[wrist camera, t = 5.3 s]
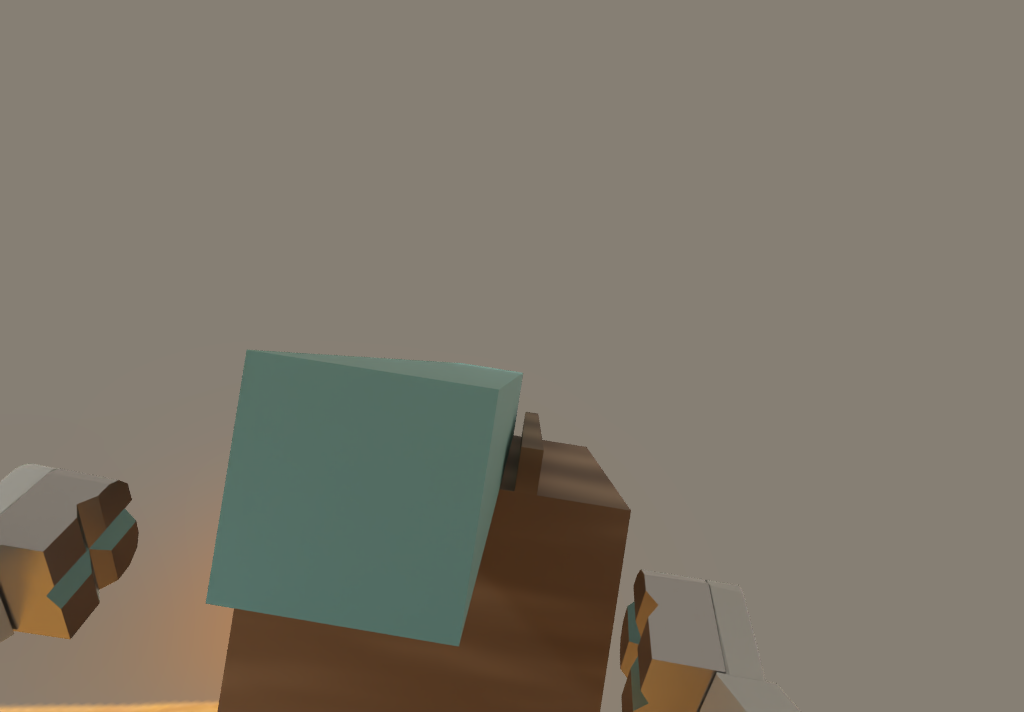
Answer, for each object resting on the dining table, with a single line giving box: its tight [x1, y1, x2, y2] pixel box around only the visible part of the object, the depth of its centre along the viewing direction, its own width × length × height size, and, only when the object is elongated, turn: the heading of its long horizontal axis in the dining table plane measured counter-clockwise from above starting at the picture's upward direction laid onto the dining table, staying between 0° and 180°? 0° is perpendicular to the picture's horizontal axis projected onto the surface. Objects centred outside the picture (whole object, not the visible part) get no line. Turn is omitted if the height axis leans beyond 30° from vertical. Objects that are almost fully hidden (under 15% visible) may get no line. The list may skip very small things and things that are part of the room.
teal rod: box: [206, 350, 523, 646], centre depth 20 cm, size 24×3×3 cm, turn 178°
